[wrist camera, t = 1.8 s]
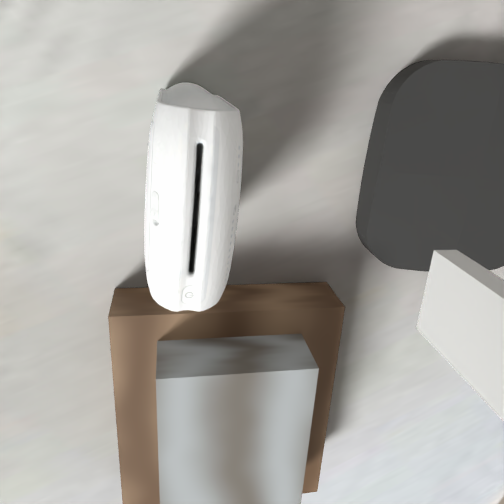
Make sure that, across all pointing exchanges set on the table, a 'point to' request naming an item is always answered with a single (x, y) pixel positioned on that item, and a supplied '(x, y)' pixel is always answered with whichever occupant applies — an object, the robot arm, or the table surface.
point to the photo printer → (191, 196)
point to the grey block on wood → (224, 393)
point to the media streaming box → (436, 166)
